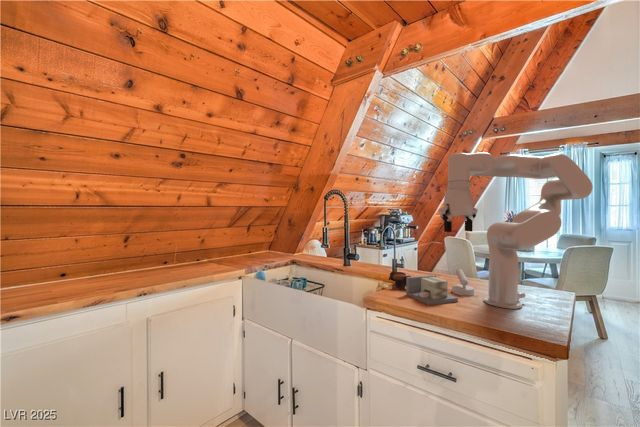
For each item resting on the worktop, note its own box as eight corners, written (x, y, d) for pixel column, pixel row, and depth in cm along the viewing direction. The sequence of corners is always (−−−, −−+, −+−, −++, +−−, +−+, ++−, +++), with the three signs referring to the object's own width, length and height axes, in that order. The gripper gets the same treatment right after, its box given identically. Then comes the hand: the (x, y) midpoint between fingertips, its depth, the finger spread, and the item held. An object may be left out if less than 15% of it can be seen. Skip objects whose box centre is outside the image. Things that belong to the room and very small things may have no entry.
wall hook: (468, 268, 132) (477, 273, 122) (468, 289, 132) (477, 296, 122) (448, 268, 133) (455, 272, 123) (448, 288, 133) (455, 295, 123)
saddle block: (434, 292, 122) (434, 276, 122) (447, 297, 115) (447, 281, 115) (421, 293, 120) (421, 277, 120) (433, 299, 113) (433, 282, 113)
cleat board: (433, 292, 128) (433, 275, 128) (457, 301, 115) (458, 282, 114) (406, 294, 123) (406, 277, 123) (428, 305, 110) (428, 285, 110)
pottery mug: (385, 289, 133) (384, 272, 137) (394, 294, 140) (393, 277, 144) (411, 286, 127) (409, 268, 131) (418, 292, 133) (417, 274, 137)
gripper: (468, 187, 116) (468, 230, 117) (432, 186, 111) (432, 231, 111) (484, 186, 109) (484, 231, 110) (447, 185, 104) (446, 232, 104)
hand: (458, 231), depth 110 cm, fingers open, 9 cm apart
